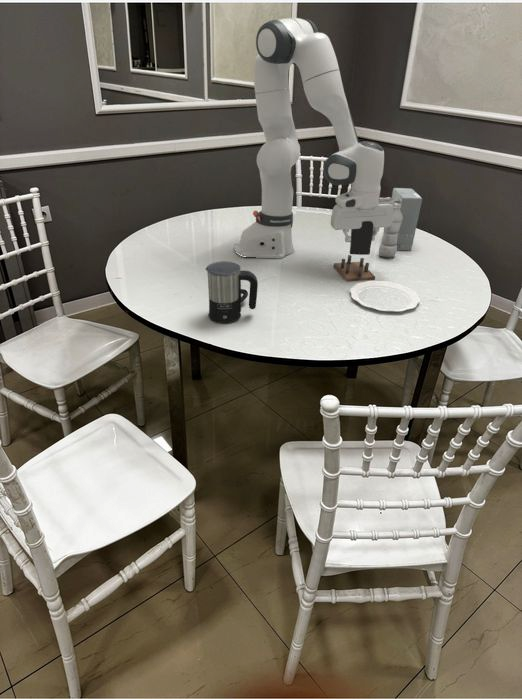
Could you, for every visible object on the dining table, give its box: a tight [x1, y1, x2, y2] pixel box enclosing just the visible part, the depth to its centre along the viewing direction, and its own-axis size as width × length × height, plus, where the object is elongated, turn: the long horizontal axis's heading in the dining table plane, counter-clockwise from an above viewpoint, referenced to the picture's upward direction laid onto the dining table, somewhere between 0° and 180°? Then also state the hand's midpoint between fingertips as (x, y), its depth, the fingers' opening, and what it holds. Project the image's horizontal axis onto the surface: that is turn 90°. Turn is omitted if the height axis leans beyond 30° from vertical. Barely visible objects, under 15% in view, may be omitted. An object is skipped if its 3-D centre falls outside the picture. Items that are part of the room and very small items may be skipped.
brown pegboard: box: [333, 254, 376, 283], centre depth 160 cm, size 10×13×4 cm
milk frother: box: [205, 260, 259, 324], centre depth 133 cm, size 14×16×15 cm
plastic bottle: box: [378, 201, 403, 258], centre depth 170 cm, size 6×7×20 cm
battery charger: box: [348, 221, 374, 256], centre depth 154 cm, size 7×4×11 cm, turn 87°
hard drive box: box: [391, 187, 423, 252], centre depth 182 cm, size 16×8×20 cm, turn 179°
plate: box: [349, 280, 421, 313], centre depth 145 cm, size 21×21×2 cm
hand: (359, 241), depth 155 cm, fingers closed on battery charger, 7 cm apart
